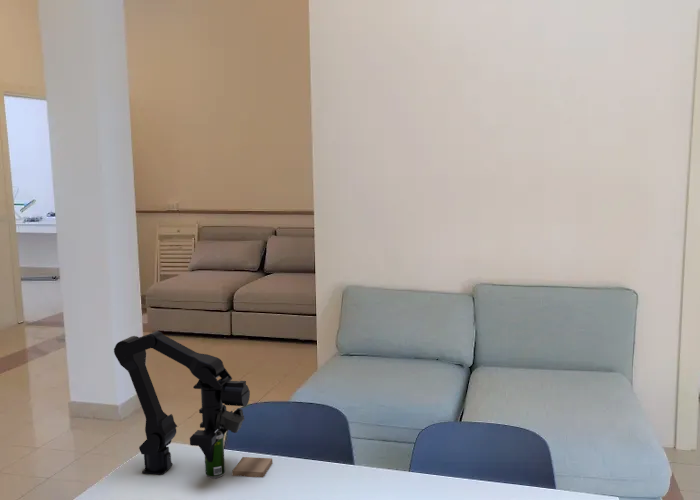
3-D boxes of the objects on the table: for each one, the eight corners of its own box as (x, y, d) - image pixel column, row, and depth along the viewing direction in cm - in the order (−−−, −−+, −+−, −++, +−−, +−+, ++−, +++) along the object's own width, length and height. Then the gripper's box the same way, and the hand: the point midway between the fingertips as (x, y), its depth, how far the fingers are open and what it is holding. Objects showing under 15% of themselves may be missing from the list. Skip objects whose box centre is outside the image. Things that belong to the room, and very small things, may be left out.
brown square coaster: (232, 477, 180) (232, 470, 180) (243, 463, 189) (242, 456, 189) (263, 479, 179) (263, 472, 179) (272, 464, 188) (272, 458, 187)
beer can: (228, 474, 181) (226, 433, 179) (211, 480, 177) (209, 439, 176) (219, 468, 185) (217, 428, 184) (202, 474, 182) (200, 433, 180)
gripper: (227, 417, 168) (230, 474, 170) (250, 393, 187) (252, 445, 188) (187, 415, 170) (190, 471, 172) (214, 392, 189) (216, 443, 190)
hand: (214, 457), depth 181 cm, fingers closed on beer can, 5 cm apart
